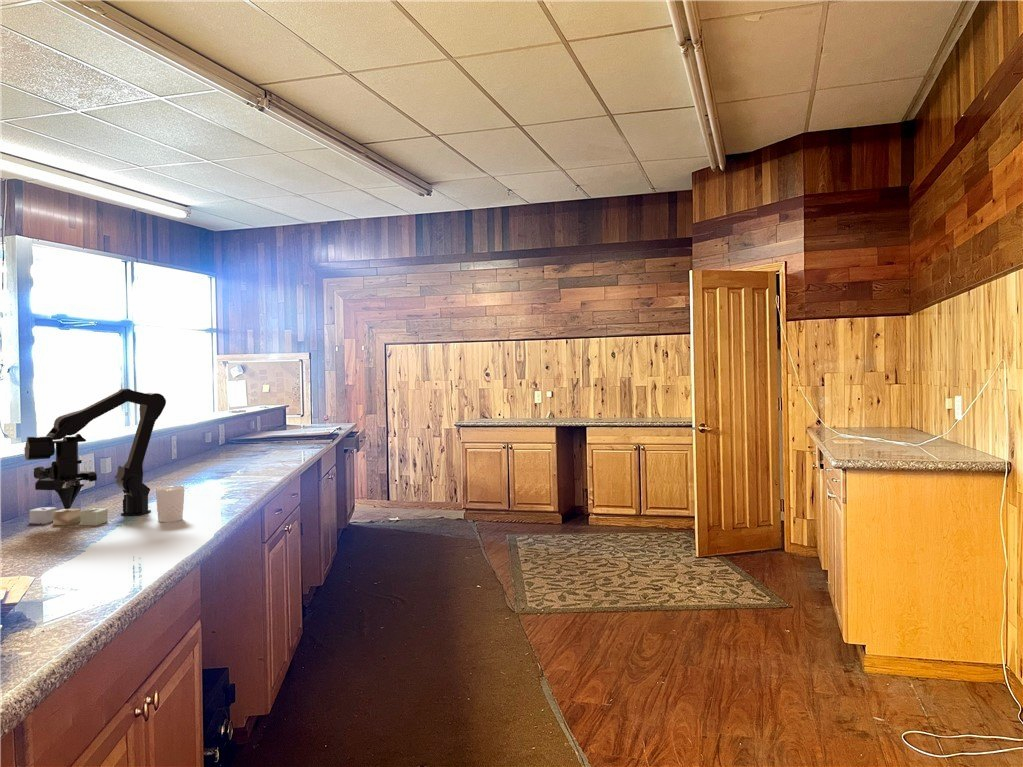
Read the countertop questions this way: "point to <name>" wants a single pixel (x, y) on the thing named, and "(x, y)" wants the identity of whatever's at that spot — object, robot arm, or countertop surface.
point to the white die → (42, 515)
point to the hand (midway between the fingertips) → (67, 508)
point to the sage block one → (94, 516)
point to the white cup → (170, 503)
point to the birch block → (66, 516)
